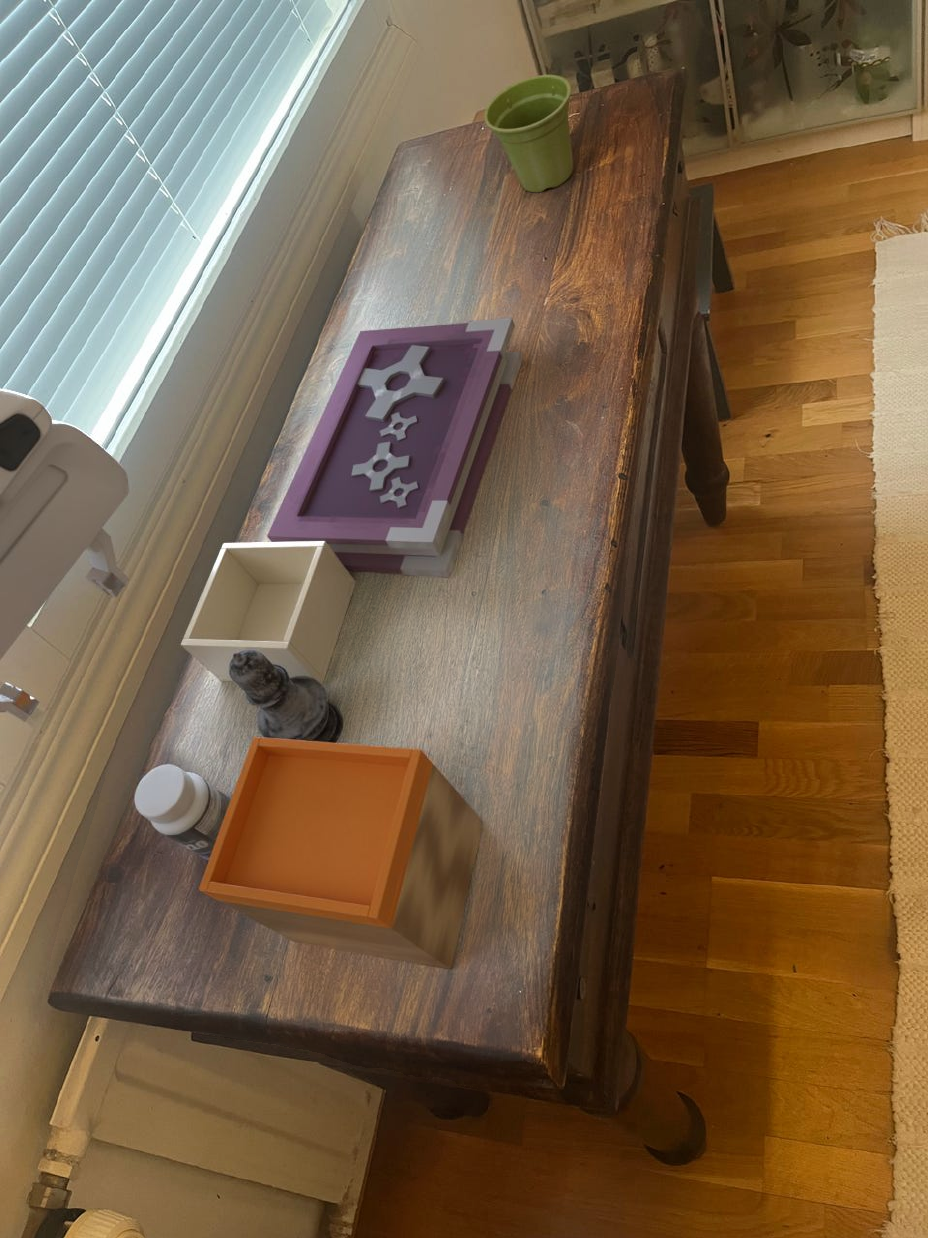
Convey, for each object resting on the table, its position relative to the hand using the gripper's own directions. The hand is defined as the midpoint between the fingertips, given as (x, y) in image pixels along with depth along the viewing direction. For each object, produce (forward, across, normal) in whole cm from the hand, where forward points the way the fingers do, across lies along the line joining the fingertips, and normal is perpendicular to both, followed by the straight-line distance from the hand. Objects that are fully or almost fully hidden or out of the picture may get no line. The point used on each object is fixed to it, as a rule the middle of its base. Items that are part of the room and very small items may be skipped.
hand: (73, 646), depth 59 cm
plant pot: (+19, +74, +7) cm, 77 cm away
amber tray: (+10, -2, -17) cm, 20 cm away
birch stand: (+20, -2, -17) cm, 26 cm away
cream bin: (+19, +13, +3) cm, 23 cm away
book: (+19, +33, +1) cm, 38 cm away
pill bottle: (+20, -4, -2) cm, 20 cm away
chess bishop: (+20, +6, -5) cm, 21 cm away
